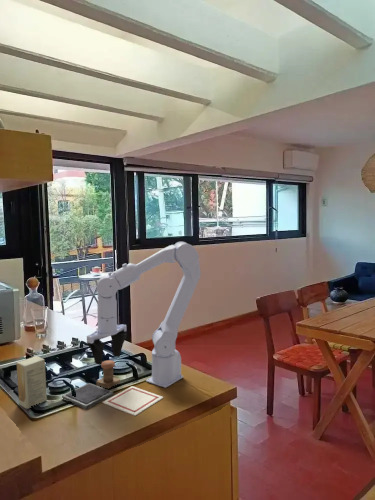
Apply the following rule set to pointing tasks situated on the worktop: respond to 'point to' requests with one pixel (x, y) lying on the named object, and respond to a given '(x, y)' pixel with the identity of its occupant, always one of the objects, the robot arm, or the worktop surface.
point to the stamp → (108, 375)
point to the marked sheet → (133, 400)
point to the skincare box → (31, 381)
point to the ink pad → (88, 395)
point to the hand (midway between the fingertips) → (107, 359)
